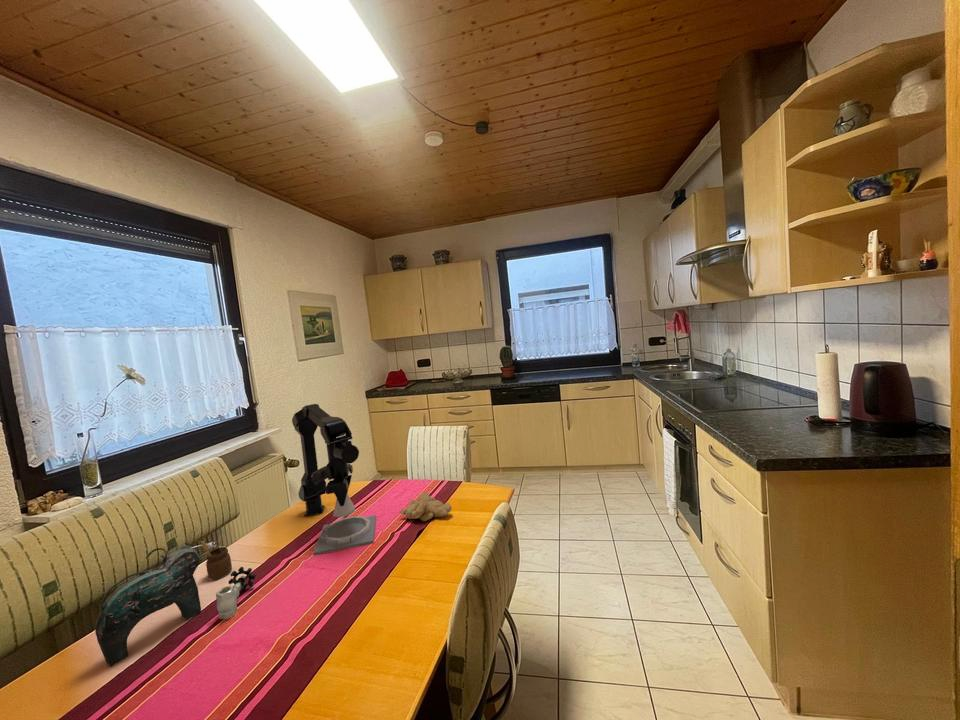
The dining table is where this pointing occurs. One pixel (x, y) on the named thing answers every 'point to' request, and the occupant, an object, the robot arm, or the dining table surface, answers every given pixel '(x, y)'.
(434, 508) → the ginger root
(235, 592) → the valve
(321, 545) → the rubber mat
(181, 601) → the green animal figurine
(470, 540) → the dining table surface
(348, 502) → the flask
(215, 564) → the utensil holder
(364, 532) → the stone ring
